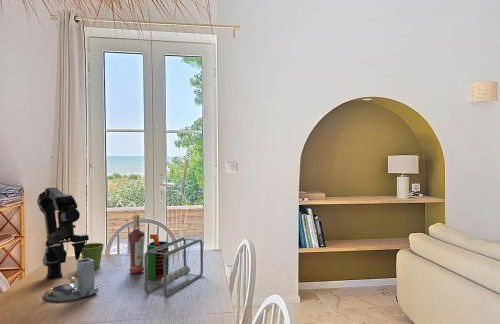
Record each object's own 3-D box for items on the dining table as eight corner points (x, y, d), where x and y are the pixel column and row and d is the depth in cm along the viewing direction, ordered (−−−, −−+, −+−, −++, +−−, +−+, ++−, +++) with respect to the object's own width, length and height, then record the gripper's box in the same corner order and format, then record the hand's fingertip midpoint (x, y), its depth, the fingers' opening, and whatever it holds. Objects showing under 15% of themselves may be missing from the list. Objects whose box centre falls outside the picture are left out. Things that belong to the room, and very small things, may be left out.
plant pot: (109, 266, 191) (109, 244, 191) (88, 272, 181) (88, 249, 181) (95, 262, 198) (94, 241, 197) (74, 268, 188) (73, 246, 187)
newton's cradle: (184, 272, 181) (184, 236, 181) (203, 275, 177) (203, 238, 177) (144, 294, 154) (143, 251, 153) (165, 298, 150) (165, 254, 149)
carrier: (43, 289, 159) (43, 280, 159) (92, 282, 169) (91, 273, 169) (44, 305, 143) (44, 295, 143) (97, 296, 152) (97, 286, 152)
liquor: (138, 275, 177) (138, 216, 176) (125, 274, 179) (125, 215, 179) (147, 271, 184) (147, 214, 183) (135, 269, 186) (134, 213, 186)
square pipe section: (70, 292, 154) (69, 260, 153) (91, 286, 161) (91, 256, 160) (79, 298, 148) (79, 265, 147) (101, 291, 155) (101, 260, 154)
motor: (161, 281, 170) (161, 237, 169) (143, 279, 172) (143, 236, 171) (170, 274, 180) (170, 232, 179) (153, 272, 181) (153, 231, 181)
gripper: (33, 228, 157) (36, 266, 155) (67, 222, 151) (70, 262, 149) (55, 226, 168) (58, 261, 166) (88, 220, 162) (91, 257, 160)
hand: (68, 260), depth 160 cm, fingers open, 9 cm apart
